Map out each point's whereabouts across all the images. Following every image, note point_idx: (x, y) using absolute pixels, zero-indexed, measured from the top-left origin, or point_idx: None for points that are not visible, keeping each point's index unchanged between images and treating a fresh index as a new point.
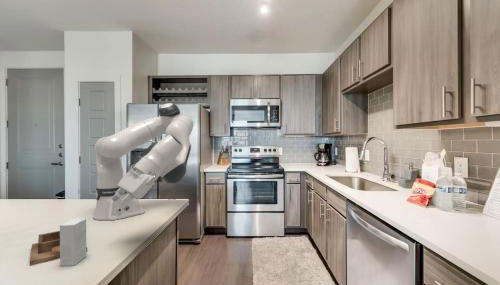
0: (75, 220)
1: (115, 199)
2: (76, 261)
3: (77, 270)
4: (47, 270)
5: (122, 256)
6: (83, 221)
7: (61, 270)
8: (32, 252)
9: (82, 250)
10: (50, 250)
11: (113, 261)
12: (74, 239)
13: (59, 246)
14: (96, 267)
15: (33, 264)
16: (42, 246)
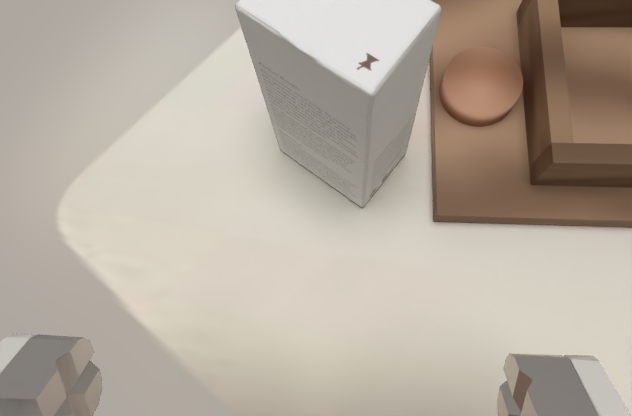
0: (366, 20)
1: (516, 409)
2: (286, 151)
3: (214, 154)
4: None
5: (211, 369)
6: (335, 79)
7: None
8: None
9: (327, 167)
10: (520, 54)
11: (183, 310)
12: (257, 75)
13: (502, 78)
14: (179, 226)
15: None
16: (530, 3)
